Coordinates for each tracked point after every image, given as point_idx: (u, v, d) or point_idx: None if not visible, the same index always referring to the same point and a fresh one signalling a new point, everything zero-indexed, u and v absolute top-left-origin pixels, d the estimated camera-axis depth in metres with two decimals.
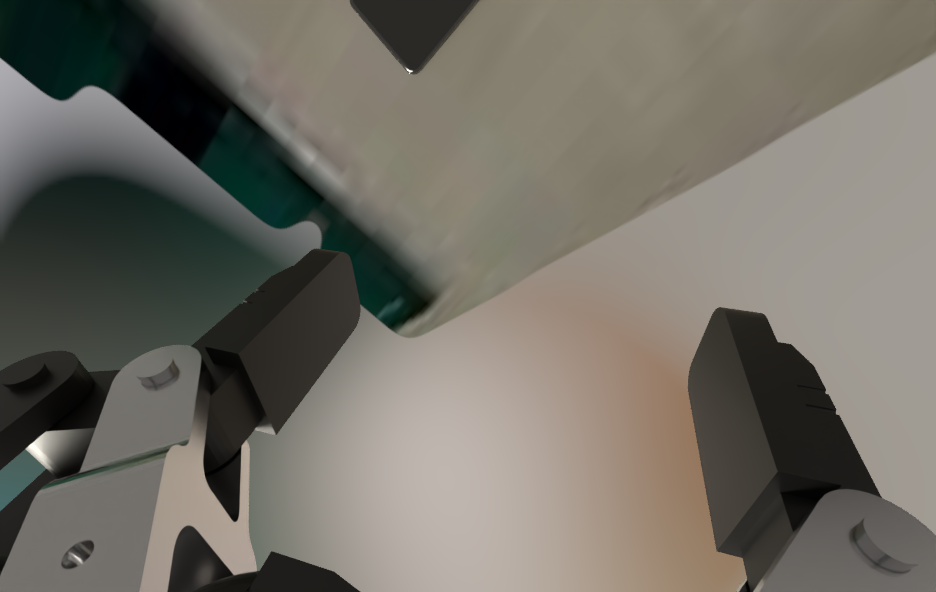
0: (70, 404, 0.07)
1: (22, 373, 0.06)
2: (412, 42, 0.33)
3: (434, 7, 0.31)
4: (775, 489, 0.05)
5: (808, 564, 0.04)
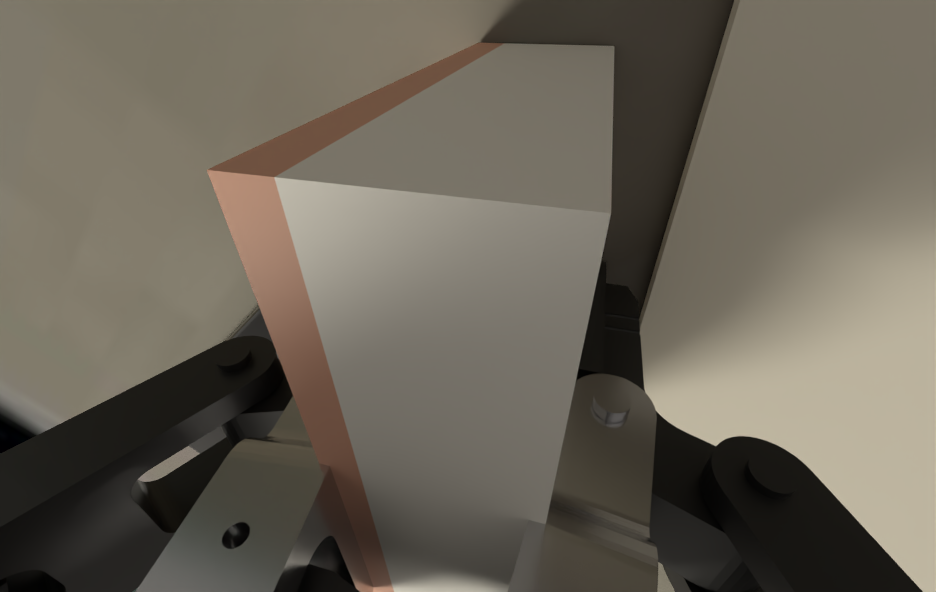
0: (272, 387, 0.07)
1: (231, 357, 0.07)
2: None
3: None
4: None
5: (568, 445, 0.05)
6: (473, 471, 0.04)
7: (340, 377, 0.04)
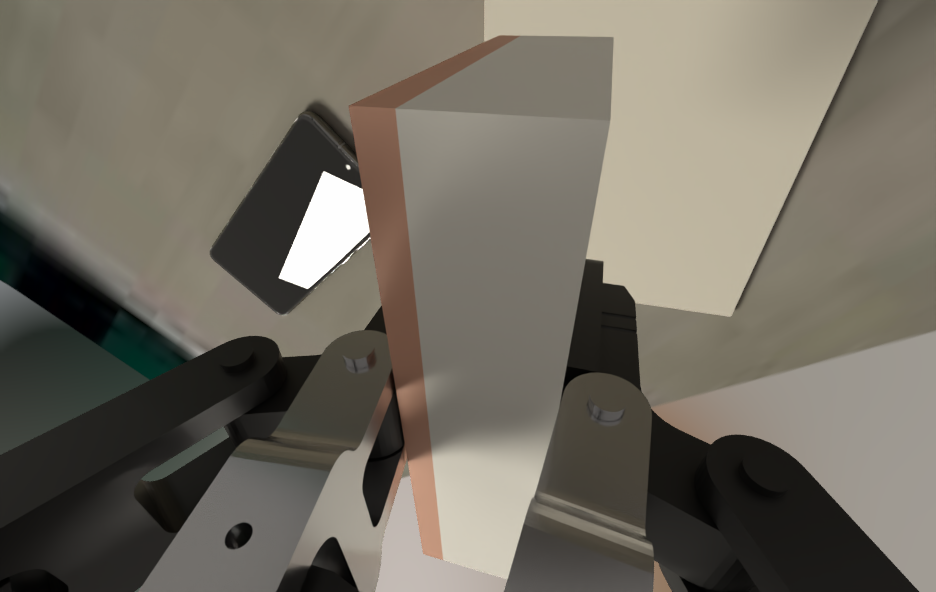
0: (275, 387, 0.07)
1: (235, 357, 0.07)
2: (276, 294, 0.32)
3: (290, 274, 0.30)
4: None
5: (565, 444, 0.05)
6: (511, 340, 0.05)
7: (415, 267, 0.05)
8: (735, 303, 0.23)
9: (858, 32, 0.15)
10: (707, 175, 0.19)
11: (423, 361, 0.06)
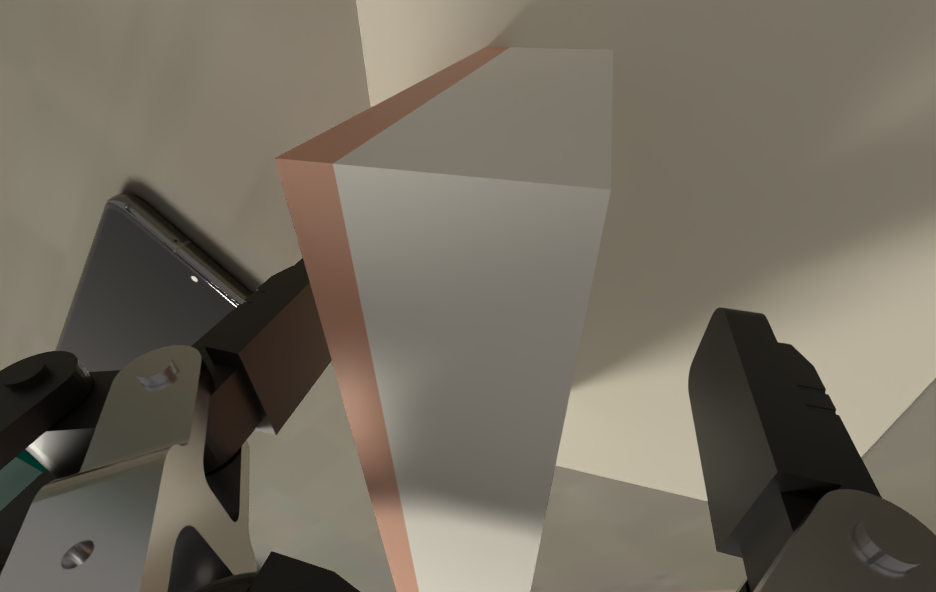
0: (70, 404, 0.07)
1: (23, 373, 0.06)
2: None
3: None
4: (775, 489, 0.05)
5: (808, 565, 0.04)
6: (489, 425, 0.05)
7: (374, 341, 0.04)
8: None
9: None
10: (781, 339, 0.11)
11: (389, 439, 0.05)
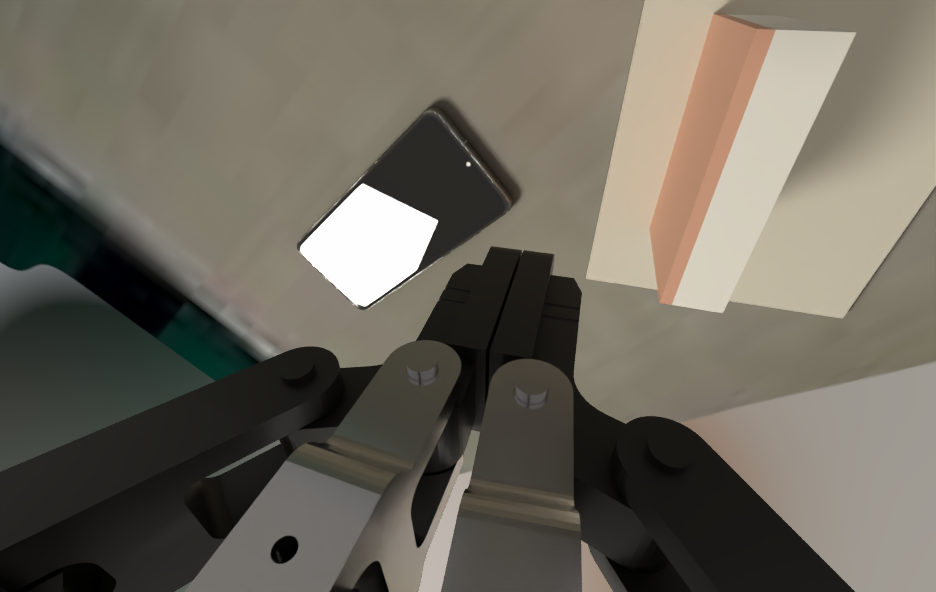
0: (335, 401, 0.07)
1: (294, 370, 0.06)
2: (361, 289, 0.32)
3: (380, 269, 0.31)
4: (495, 368, 0.07)
5: (495, 432, 0.06)
6: (781, 131, 0.14)
7: (748, 100, 0.13)
8: (850, 305, 0.23)
9: None
10: (845, 179, 0.20)
11: (731, 149, 0.14)
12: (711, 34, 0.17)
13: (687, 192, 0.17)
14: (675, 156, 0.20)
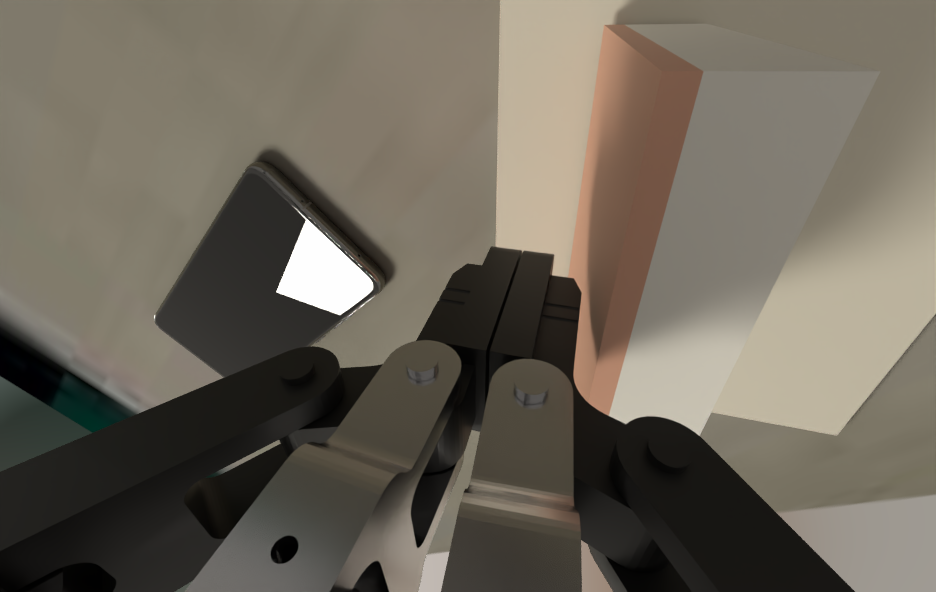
0: (335, 401, 0.07)
1: (295, 370, 0.06)
2: (237, 370, 0.26)
3: (251, 350, 0.24)
4: (495, 368, 0.07)
5: (495, 432, 0.06)
6: (734, 260, 0.07)
7: (663, 206, 0.07)
8: (846, 420, 0.16)
9: None
10: (828, 261, 0.13)
11: (644, 290, 0.07)
12: (603, 58, 0.11)
13: (588, 327, 0.10)
14: (578, 237, 0.13)
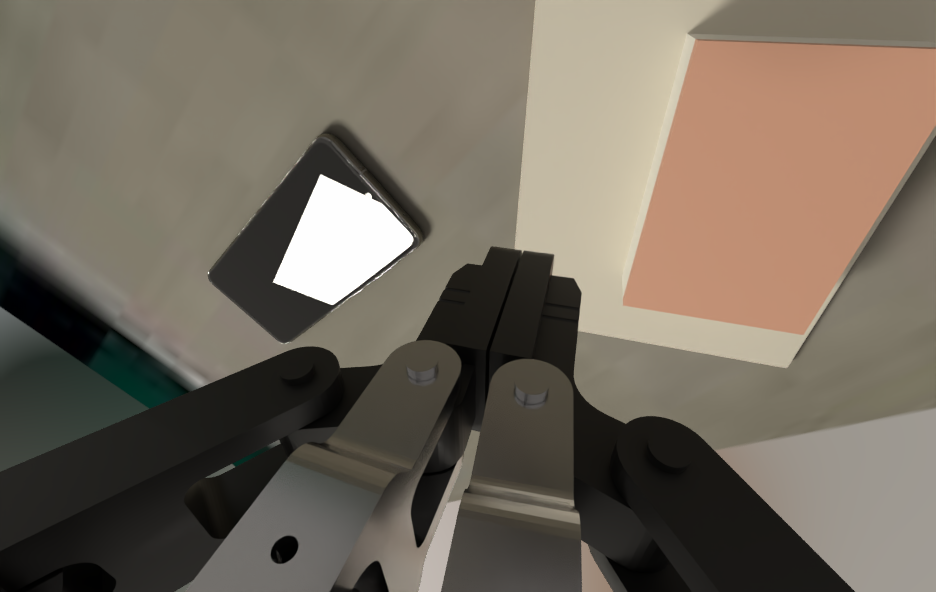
0: (335, 400, 0.07)
1: (294, 370, 0.06)
2: (279, 322, 0.30)
3: (295, 302, 0.28)
4: (495, 367, 0.07)
5: (495, 432, 0.06)
6: None
7: (921, 120, 0.13)
8: (793, 354, 0.21)
9: None
10: None
11: None
12: (721, 66, 0.13)
13: (814, 232, 0.15)
14: (679, 216, 0.16)
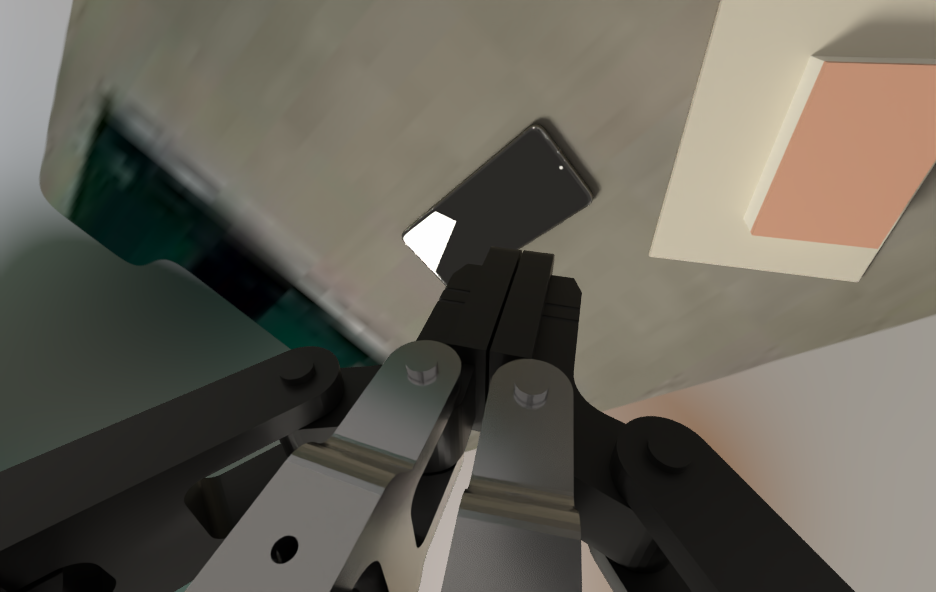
0: (335, 400, 0.07)
1: (294, 370, 0.06)
2: (453, 271, 0.39)
3: (474, 253, 0.37)
4: (496, 367, 0.07)
5: (494, 432, 0.06)
6: None
7: None
8: (863, 271, 0.30)
9: None
10: None
11: None
12: (840, 77, 0.22)
13: (890, 177, 0.24)
14: (801, 170, 0.25)
